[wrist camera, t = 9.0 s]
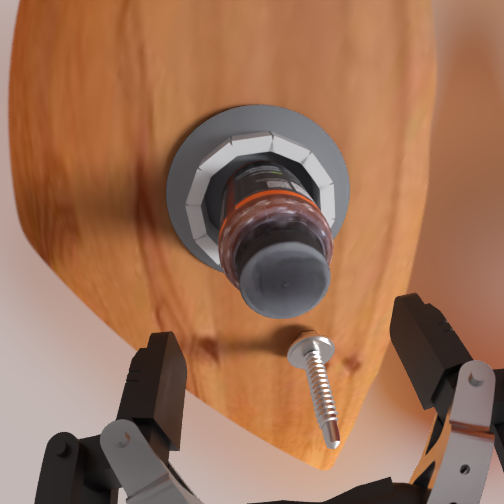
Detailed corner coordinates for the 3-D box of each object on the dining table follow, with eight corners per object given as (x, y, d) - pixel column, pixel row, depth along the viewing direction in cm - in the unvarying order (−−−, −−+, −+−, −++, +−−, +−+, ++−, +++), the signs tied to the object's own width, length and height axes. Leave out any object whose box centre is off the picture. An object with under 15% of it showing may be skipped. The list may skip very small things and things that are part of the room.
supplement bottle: (243, 245, 25) (250, 351, 15) (207, 180, 22) (185, 259, 12) (313, 214, 24) (364, 306, 14) (283, 144, 21) (326, 195, 11)
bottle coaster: (150, 124, 21) (137, 129, 18) (340, 96, 20) (356, 97, 17) (190, 283, 27) (186, 306, 25) (347, 260, 27) (359, 280, 24)
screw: (318, 314, 30) (336, 341, 32) (276, 336, 31) (297, 360, 33) (353, 428, 19) (371, 445, 21) (293, 451, 20) (318, 465, 22)
